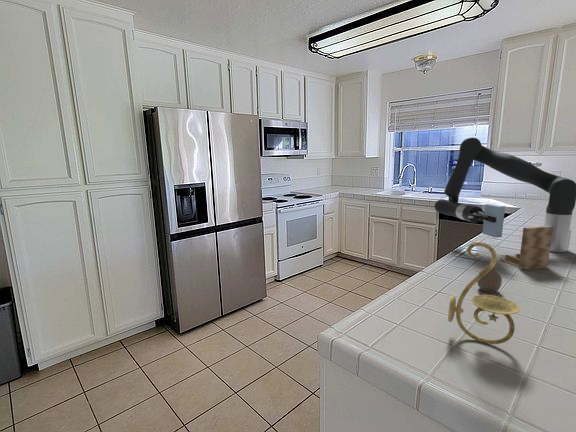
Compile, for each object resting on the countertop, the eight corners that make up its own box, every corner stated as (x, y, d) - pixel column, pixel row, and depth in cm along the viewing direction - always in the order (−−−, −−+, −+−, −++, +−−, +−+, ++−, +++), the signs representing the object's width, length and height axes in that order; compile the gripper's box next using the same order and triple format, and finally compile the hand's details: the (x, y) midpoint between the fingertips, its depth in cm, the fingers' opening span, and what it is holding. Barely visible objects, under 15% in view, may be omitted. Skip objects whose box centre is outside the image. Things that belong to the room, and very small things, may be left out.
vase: (497, 287, 109) (499, 263, 108) (503, 296, 103) (506, 270, 101) (474, 285, 112) (476, 261, 110) (478, 293, 105) (481, 268, 103)
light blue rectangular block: (488, 233, 140) (491, 203, 137) (501, 237, 133) (505, 206, 131) (482, 233, 139) (485, 204, 137) (495, 237, 133) (498, 206, 130)
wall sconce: (445, 341, 79) (453, 244, 74) (451, 324, 86) (459, 235, 82) (514, 361, 71) (528, 253, 66) (514, 341, 78) (526, 242, 74)
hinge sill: (520, 258, 138) (525, 220, 135) (547, 267, 127) (553, 226, 124) (496, 260, 136) (500, 222, 133) (521, 270, 125) (526, 228, 122)
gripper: (456, 205, 147) (485, 212, 130) (482, 204, 149) (515, 210, 133) (454, 221, 148) (483, 230, 132) (481, 219, 151) (513, 227, 134)
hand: (499, 220), depth 132 cm, fingers closed on light blue rectangular block, 3 cm apart
